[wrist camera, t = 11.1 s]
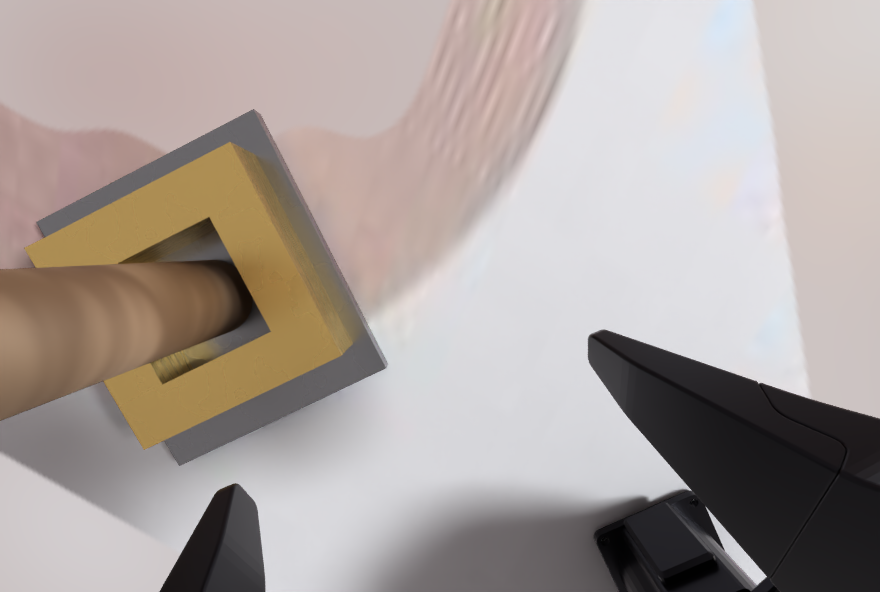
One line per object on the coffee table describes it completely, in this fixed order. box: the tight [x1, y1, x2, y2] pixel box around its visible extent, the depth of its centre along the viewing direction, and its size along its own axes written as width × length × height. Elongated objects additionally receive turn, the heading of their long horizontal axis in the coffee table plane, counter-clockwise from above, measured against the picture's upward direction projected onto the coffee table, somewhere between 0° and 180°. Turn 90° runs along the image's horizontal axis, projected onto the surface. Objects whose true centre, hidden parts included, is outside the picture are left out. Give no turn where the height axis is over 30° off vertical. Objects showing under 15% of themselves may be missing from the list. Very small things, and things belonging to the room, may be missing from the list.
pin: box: [0, 260, 253, 421], centre depth 15 cm, size 4×4×14 cm
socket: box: [24, 109, 388, 466], centre depth 21 cm, size 15×13×3 cm
